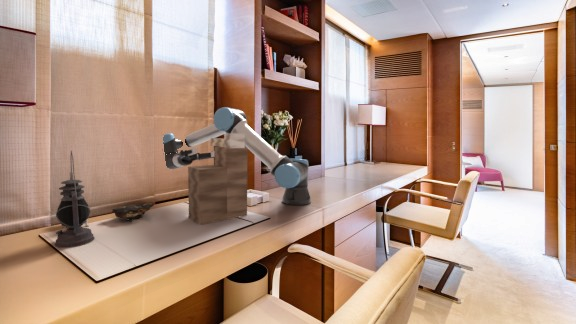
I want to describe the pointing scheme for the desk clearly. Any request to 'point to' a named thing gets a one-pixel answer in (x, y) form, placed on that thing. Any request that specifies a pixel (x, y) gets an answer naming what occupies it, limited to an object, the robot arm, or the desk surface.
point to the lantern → (73, 214)
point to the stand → (219, 187)
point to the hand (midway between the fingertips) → (208, 151)
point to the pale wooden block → (229, 141)
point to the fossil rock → (132, 211)
